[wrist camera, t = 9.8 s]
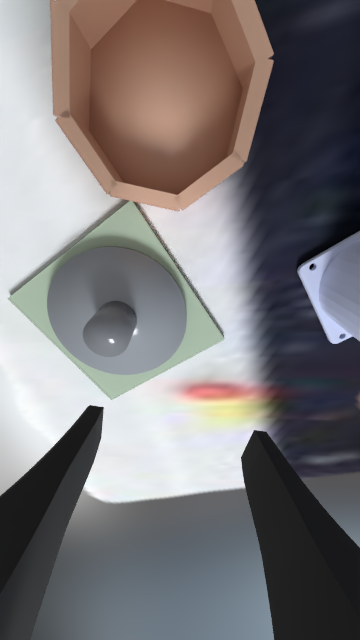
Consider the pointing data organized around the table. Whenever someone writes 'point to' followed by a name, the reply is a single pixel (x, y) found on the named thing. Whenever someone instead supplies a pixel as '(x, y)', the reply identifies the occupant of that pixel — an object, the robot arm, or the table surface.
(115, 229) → the mat
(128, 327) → the lid
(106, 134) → the dish
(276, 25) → the table surface
